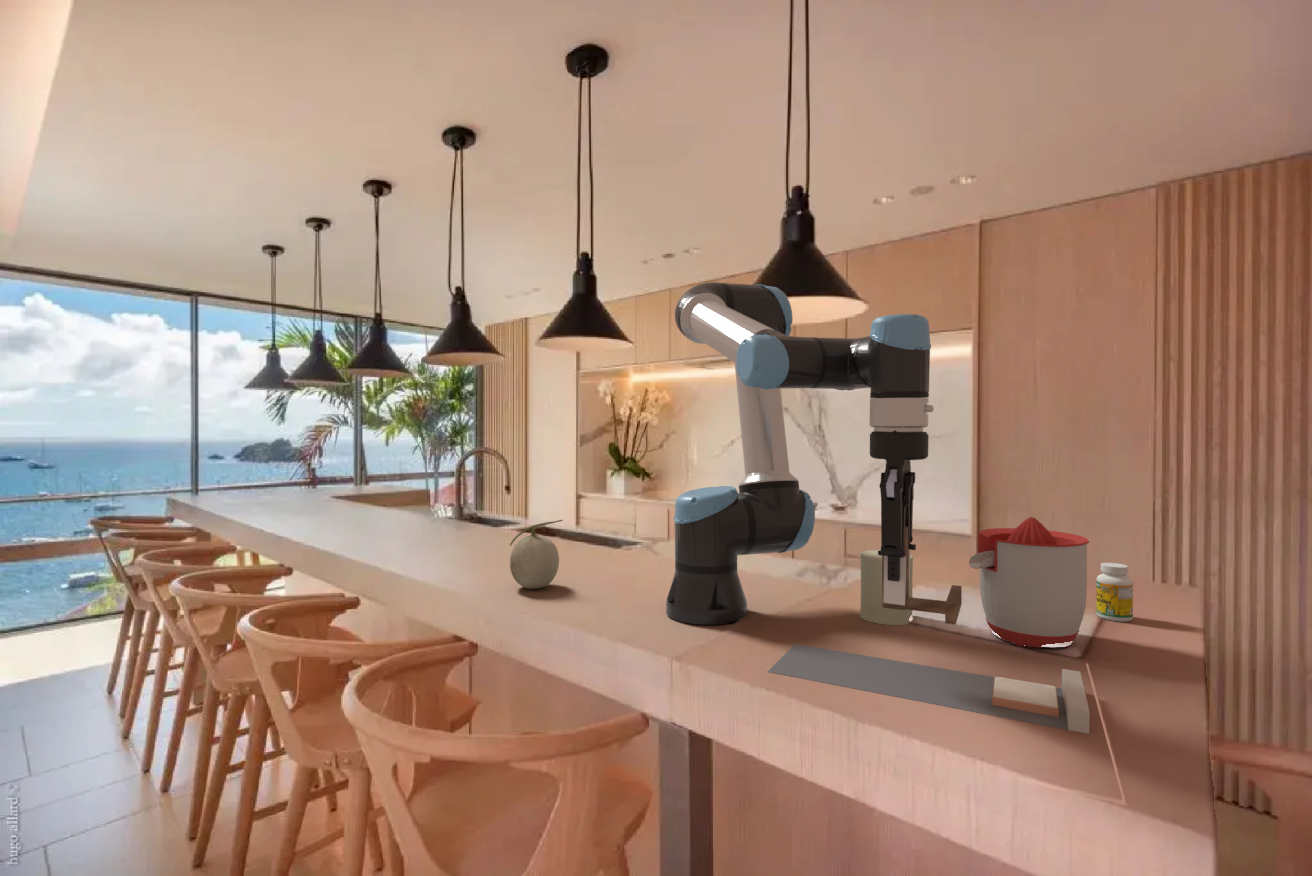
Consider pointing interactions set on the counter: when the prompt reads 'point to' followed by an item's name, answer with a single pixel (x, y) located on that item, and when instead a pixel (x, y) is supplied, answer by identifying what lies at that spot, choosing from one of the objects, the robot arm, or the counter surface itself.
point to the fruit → (534, 559)
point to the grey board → (929, 684)
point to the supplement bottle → (1114, 593)
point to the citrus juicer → (1032, 583)
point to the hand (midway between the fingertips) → (896, 599)
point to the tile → (1025, 696)
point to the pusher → (927, 605)
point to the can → (878, 592)
